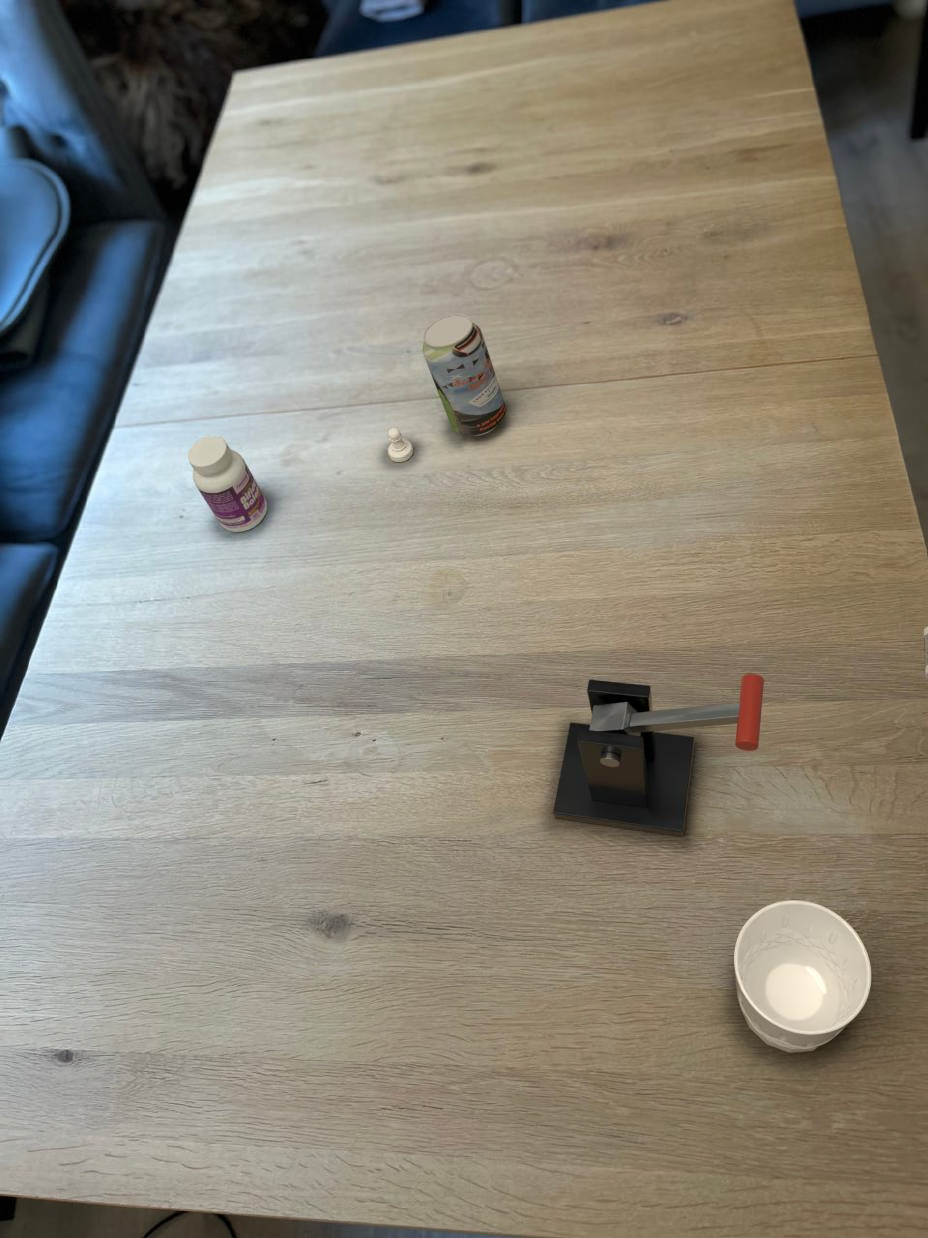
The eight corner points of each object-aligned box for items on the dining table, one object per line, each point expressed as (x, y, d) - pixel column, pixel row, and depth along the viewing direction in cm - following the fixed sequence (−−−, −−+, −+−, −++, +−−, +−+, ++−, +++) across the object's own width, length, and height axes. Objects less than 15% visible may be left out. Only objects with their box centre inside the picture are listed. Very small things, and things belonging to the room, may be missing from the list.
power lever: (770, 686, 66) (755, 668, 65) (764, 753, 64) (749, 737, 62) (612, 703, 74) (596, 688, 72) (602, 764, 71) (585, 750, 70)
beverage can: (482, 453, 101) (458, 365, 91) (431, 425, 105) (403, 337, 95) (522, 414, 103) (502, 324, 93) (470, 388, 107) (446, 298, 97)
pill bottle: (267, 529, 101) (231, 466, 93) (218, 538, 102) (178, 476, 94) (270, 489, 104) (234, 425, 96) (222, 498, 105) (183, 435, 97)
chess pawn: (410, 462, 102) (402, 439, 100) (387, 462, 103) (378, 439, 100) (416, 444, 104) (407, 420, 101) (392, 443, 104) (384, 420, 101)
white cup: (852, 1071, 65) (874, 1044, 57) (728, 1053, 67) (732, 1024, 59) (848, 950, 69) (868, 907, 61) (731, 936, 71) (736, 893, 63)
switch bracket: (694, 743, 80) (693, 670, 70) (682, 837, 76) (680, 775, 66) (571, 728, 83) (554, 657, 73) (554, 818, 79) (533, 756, 69)
